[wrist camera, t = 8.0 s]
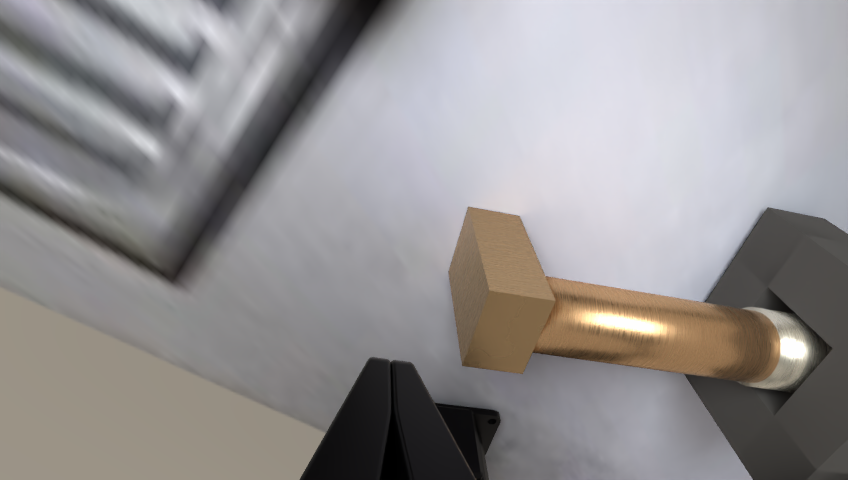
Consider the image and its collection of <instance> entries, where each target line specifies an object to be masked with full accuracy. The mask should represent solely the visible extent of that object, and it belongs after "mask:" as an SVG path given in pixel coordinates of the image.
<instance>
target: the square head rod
mask: <svg viewBox="0 0 848 480" xmlns="http://www.w3.org/2000/svg"><path fill="white" fill-rule="evenodd" d="M449 279H450V286H451V292H452V299H453V306H454V313H455V320H456V327H457V334H458V341H459V347H460V354H461V361H462V366H467V367H475V368H482V369H490V370H497V371H505V372H512V373H520V374H523V372H524V370H525V368H526V365H527V363H528V361H529V359H530V357H531V354H532V353H540V354H547V355H554V356H561V357H568V358H575V359H582V360H590V361H597V362H604V363H611V364H618V365H625V366H633V367H640V368H647V369H654V370H661V371H668V372H676V373H683V374H690V375H697V376H704V377H711V378H718V379H726V380H733V381H737V382H738V383H740V384H742V385H745V386H749V387H756V388H763V389H771V390H778V391H785V392H792V393H794V392H795V391H796V390H797V389H798V388H799V387H800V386H801V384H802V383H803V382H804V381H805V380H806V379H807V378H808V377H809V375H810V374H811V373H812V372H813V371H814V370H815V369H816V367H817V366H818V365H819V364H820V363H821V362H822V361H823V359H824V358H825V357H826V356H827V355H828V354H829V353H830V352H831V350H832V349H833V348H832V347H831V346H830V345H829V344H827V343H826V342H825V341H824V340H823V339H822V338H821V337H820V336H819V335H818V334H817V333H816V332H815V331H814V330H813V329H812V328H811V327H809V326H808V325H807V324H806V323H805V322H804V321H803V320H802V319H801V318H800V317H799V316H798V315H797V314H793V313H787V312H781V311H775V310H769V309H763V308H757V307H745V308H742V309H741V308H735V307H729V306H723V305H717V304H710V303H704V302H698V301H692V300H686V299H680V298H674V297H668V296H662V295H656V294H650V293H644V292H638V291H632V290H626V289H620V288H613V287H607V286H601V285H595V284H589V283H583V282H577V281H571V280H565V279H559V278H553V277H547V276H545V274H544V272H543V270H542V267H541V265H540V263H539V261H538V258H537V256H536V254H535V251H534V249H533V247H532V244H531V242H530V240H529V237H528V235H527V233H526V230H525V228H524V226H523V223H522V221H521V219H520V216H516V215H510V214H505V213H500V212H494V211H489V210H483V209H478V208H472V207H468V209H467V213H466V216H465V219H464V223H463V226H462V229H461V232H460V236H459V239H458V242H457V246H456V249H455V252H454V256H453V259H452V262H451V265H450V269H449Z"/></svg>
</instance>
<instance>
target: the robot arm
mask: <svg viewBox="0 0 848 480" xmlns="http://www.w3.org/2000/svg"><path fill="white" fill-rule="evenodd" d="M500 421H501V420H500V415H499V413H498V412H497V411H494V410H487V409H479V408H470V407H462V406H454V405H445V404H437V403H434V401H433V400H432V398H431V396H430V394H429V392H428V390H427V389H426V387H425V385H424V383H423V381H422V379H421V378H420V376H419V374H418V372H417V370H416V368H415V367H414V365H413V364H412V363H411V362H406V361H398V360H393V361H392V362H390V360H388V359H383V358H375V357H371V358H369V359H368V361H367V363H366V364H365V366H364V368H363V370H362V371H361V373H360V375H359V377H358V378H357V380H356V382H355V384H354V385H353V387H352V389H351V391H350V392H349V394H348V396H347V398H346V399H345V401H344V403H343V405H342V406H341V408H340V410H339V412H338V413H337V415H336V417H335V419H334V420H333V422H332V424H331V426H330V427H329V429H328V431H327V433H326V434H325V436H324V438H323V440H322V441H321V443H320V445H319V447H318V448H317V450H316V452H315V454H314V455H313V457H312V459H311V461H310V462H309V464H308V466H307V468H306V469H305V471H304V473H303V475H302V476H301V478H300V480H489V478H488V472H487V466H486V460H485V455H486V452H487V450H488V448H489V446H490V444H491V441H492V439H493V437H494V435H495V433H496V431H497V428H498V426H499V424H500Z"/></svg>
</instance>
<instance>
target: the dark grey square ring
mask: <svg viewBox="0 0 848 480" xmlns="http://www.w3.org/2000/svg"><path fill="white" fill-rule="evenodd" d="M705 303H710V304H717V305H723V306H729V307H735V308H741V309H742V308H745V307H757V308H763V309H769V310H775V311H781V312H787V313H793V314H797V315H798V316H799V317H800V318H801V319H802V320H803V321H804V322H805V323H806V324H807V325H808V326H809V327H811V328H812V329H813V330H814V331H815V332H816V333H817V334H818V335H819V336H820V337H821V338H822V339H823V340H824V341H825V342H826V343H827V344H829V345H830V346H831V347H832V348H833V349H832V350H831V352H830V353H829V354H828V355H827V356H826V357H825V358H824V359H823V361H822V362H821V363H820V364H819V365H818V366H817V367H816V369H815V370H814V371H813V372H812V373H811V374H810V375H809V377H808V378H807V379H806V380H805V381H804V382H803V383H802V384H801V386H800V387H799V388H798V389H797V390H796V391H795V392H794V393H792V392H785V391H778V390H771V389H763V388H756V387H749V386H745V385H742V384H740V383H738V382H737V381H733V380H726V379H718V378H711V377H704V376H697V375H690V374H685V376H686V378H687V379H688V381H689V382H690V384H691V385H692V387H693V388H694V390H695V391H696V393H697V394H698V396H699V397H700V399H701V400H702V402H703V404H704V405H705V407H706V408H707V410H708V411H709V413H710V414H711V416H712V417H713V419H714V420H715V422H716V423H717V425H718V426H719V428H720V430H721V431H722V433H723V434H724V436H725V437H726V439H727V440H728V442H729V443H730V445H731V446H732V448H733V449H734V451H735V453H736V454H737V456H738V457H739V459H740V460H741V462H742V463H743V465H744V466H745V468H746V469H747V471H748V472H749V474H750V475H751V477H752V479H753V480H848V234H847V233H845V232H844V231H842V230H841V229H839V228H838V227H836V226H835V225H833V224H832V223H830V222H829V221H827V220H826V219H823V218H818V217H813V216H808V215H803V214H798V213H793V212H788V211H783V210H778V209H773V208H767V209H766V211H765V212H764V214H763V215H762V217H761V218H760V220H759V222H758V223H757V225H756V226H755V228H754V229H753V231H752V232H751V234H750V235H749V237H748V238H747V240H746V241H745V243H744V244H743V246H742V247H741V249H740V250H739V252H738V254H737V255H736V257H735V258H734V260H733V261H732V263H731V264H730V266H729V267H728V269H727V270H726V272H725V273H724V275H723V276H722V278H721V279H720V281H719V282H718V284H717V286H716V287H715V289H714V290H713V292H712V293H711V295H710V296H709V298H708V299H707V301H706V302H705Z"/></svg>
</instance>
